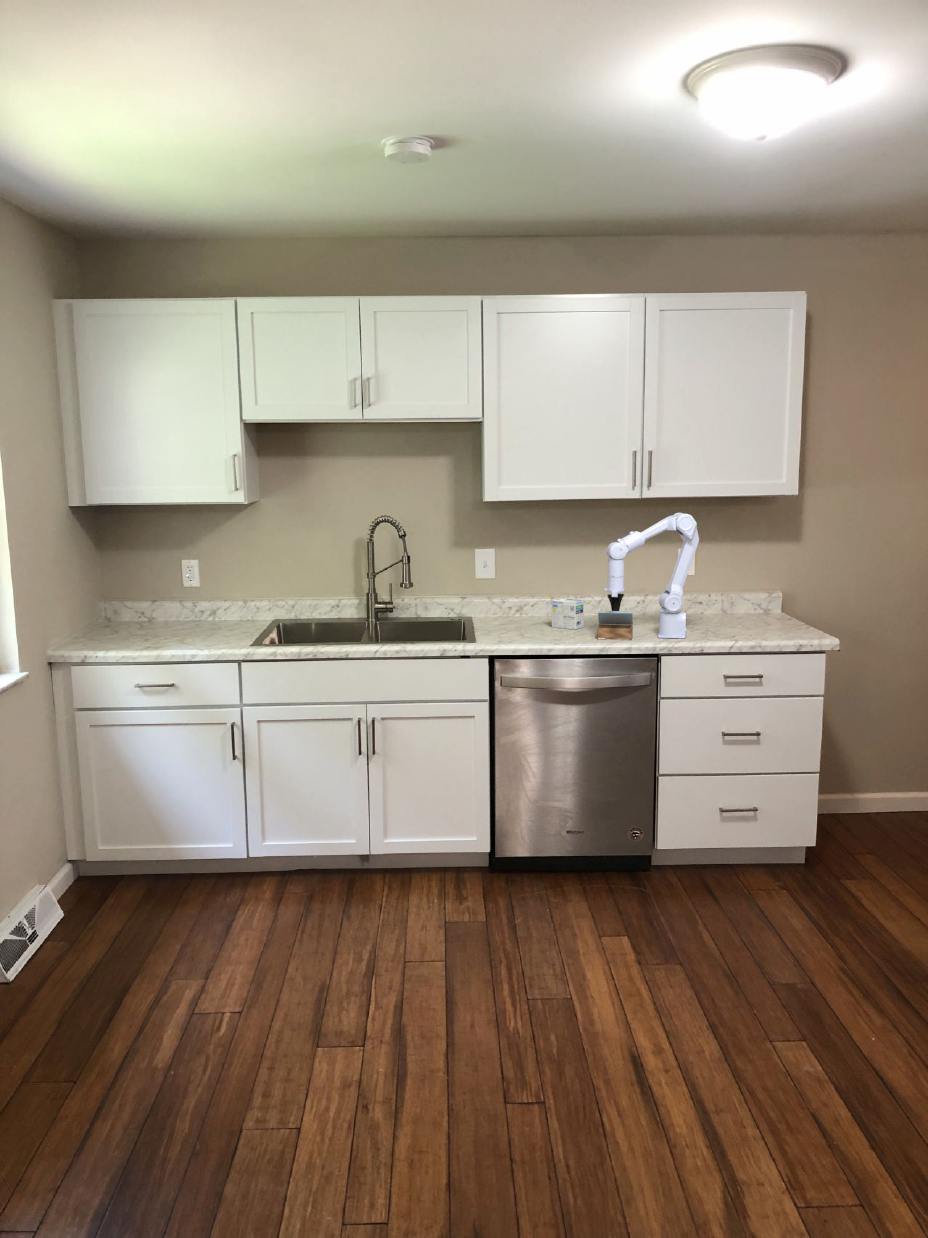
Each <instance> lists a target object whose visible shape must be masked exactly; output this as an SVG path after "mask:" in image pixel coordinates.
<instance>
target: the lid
mask: <svg viewBox="0 0 928 1238" xmlns="http://www.w3.org/2000/svg"><path fill="white" fill-rule="evenodd" d="M597 616H598V625H599V624H604V625H633V624H634V621H633V620H634V617H633V610H632V611H631V610H629V611H625V610H624V611H623V610H619V611H612V610H605V609H600V610H597Z"/></svg>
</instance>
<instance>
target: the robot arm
mask: <svg viewBox="0 0 928 1238" xmlns="http://www.w3.org/2000/svg"><path fill="white" fill-rule="evenodd" d="M697 524H698V523H697V521H696V520H695V518H694V517H693V516H692V515H691V514H690V513H689V514H688V513H684V512H683V513H682V512H676V513H674V514H673V515H669V516H667V517H664V518H663V519H661V520H660V521H658V522H656V523H654V524H653V525H651V526H650V527H648V528H646V529H644V530H643V531H641V532H640V531H637V530H635V531H630V532H628V534H627V535H626V536H624V537H621V538H617V539H616V540H617V541H616V542H615V541H613V542H610V544H608V546H607V548H606V554H607V556H608V557H607V587H606V588H604V589H603V590H604V591H605V592H608V593H609V594H607V598H608V600H609V604H610V608H611V610H610V611H621V610H620V609H621V603H622V601H623V598H624V596H625V594H624V593H623V592H625V590H626V589H625V557H626V556H627V554H630V553H632V552H634V551H636V550H638V549H639V548H641V547H643V546H644V545H645V542H646V540H649V539H651V538H653V537H655V536H657V535H659V534H661V533H663V532H665V531H676V533H678V535H679V536H680V538H681V540H682V545H681V547H680V550H679V554H678V555H677V559H676V562H675V564H674V568H673V571H672V573H671V577H670V579H669V582H668V583H667V585H666V586H665V587H664V590H663V592H662V593H661V594H660V595H659V598H658V604H659V606H660V607H661V608H660V609H659V624H658V625H659V627H658V629H659V631H658V633H657V637H658V638H659V639H660V638H661V639H686V634H687V627H686V625H687V621H686V620H687V613H686V612H683V611H682V612H681V609H682V606H683V600H682V599H683V596H684V589H683V588H684V585H685V583H686V580H687V577H688V574H689V571H690V569H691V566H692V562H693V559H694V556H695V553H696V551H697V548H698V546H699V542H700V536H699V533H698V532H699V531H698V526H697ZM610 593H611V594H610ZM658 638H657V639H658Z"/></svg>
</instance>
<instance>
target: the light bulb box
mask: <svg viewBox="0 0 928 1238" xmlns="http://www.w3.org/2000/svg"><path fill="white" fill-rule="evenodd" d="M584 602H585V601H584V599H577V598H575V599H573V598H561V597H559V598H555V599H551V628H556V629H566V630H579V629H582V628H584V626H585V625H584V623H585V621H584V617H585V616H584V615H585V614H584V611H585V610H584V605H585V604H584Z"/></svg>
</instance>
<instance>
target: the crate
mask: <svg viewBox="0 0 928 1238" xmlns="http://www.w3.org/2000/svg"><path fill="white" fill-rule="evenodd" d="M633 628H634V626H633V625H621V624H599V623H598V626H597V629H596V630H597V633H596V634H597V636H596V637H597V638H605V639H629V640H628V641H632V640H633V636H634V635H633V634H634V633H633V631H634V630H633ZM597 638H596V639H597ZM605 639H604V640H605Z"/></svg>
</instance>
